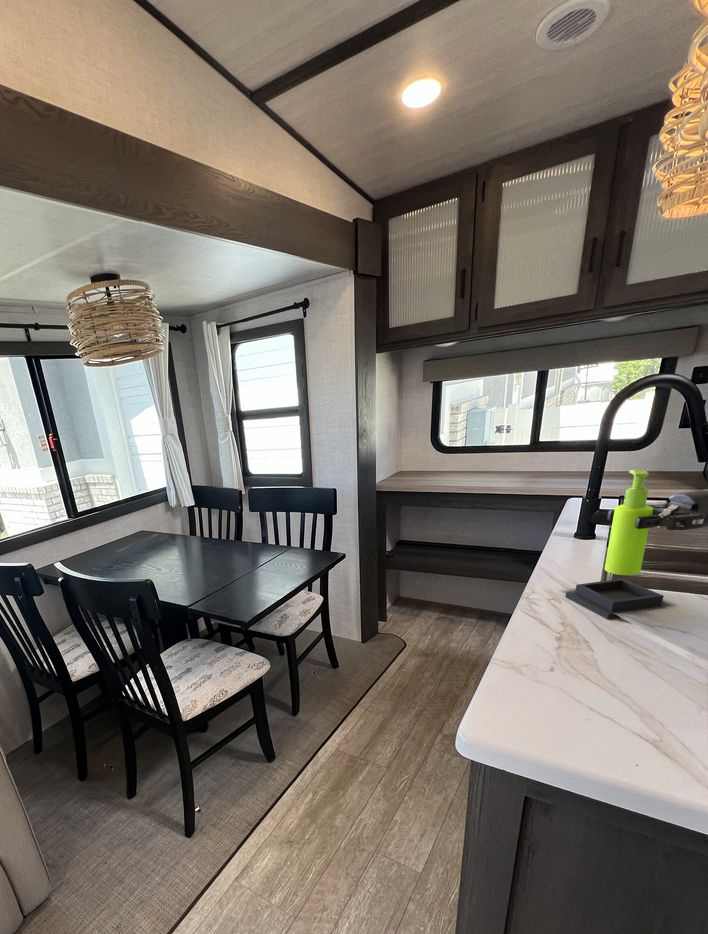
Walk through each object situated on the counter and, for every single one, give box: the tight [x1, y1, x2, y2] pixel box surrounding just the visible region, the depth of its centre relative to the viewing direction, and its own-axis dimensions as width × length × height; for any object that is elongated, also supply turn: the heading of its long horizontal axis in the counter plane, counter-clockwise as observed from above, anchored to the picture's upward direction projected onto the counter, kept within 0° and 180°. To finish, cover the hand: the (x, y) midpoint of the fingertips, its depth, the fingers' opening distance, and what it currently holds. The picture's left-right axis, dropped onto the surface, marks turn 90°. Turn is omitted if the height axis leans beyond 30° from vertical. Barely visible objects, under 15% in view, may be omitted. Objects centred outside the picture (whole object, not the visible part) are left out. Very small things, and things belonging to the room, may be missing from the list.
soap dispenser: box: [604, 469, 653, 576], centre depth 93 cm, size 6×7×20 cm
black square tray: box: [564, 577, 670, 620], centre depth 101 cm, size 14×12×3 cm
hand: (623, 519), depth 92 cm, fingers closed on soap dispenser, 6 cm apart
